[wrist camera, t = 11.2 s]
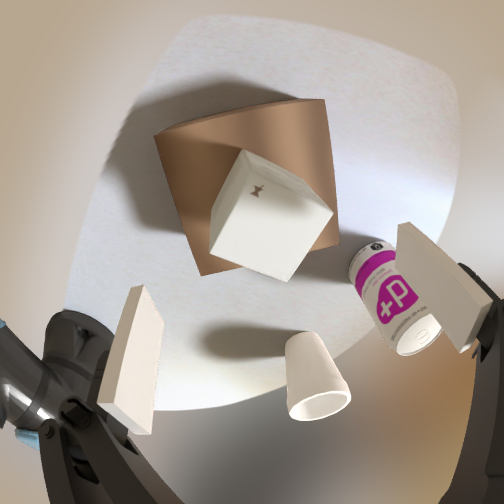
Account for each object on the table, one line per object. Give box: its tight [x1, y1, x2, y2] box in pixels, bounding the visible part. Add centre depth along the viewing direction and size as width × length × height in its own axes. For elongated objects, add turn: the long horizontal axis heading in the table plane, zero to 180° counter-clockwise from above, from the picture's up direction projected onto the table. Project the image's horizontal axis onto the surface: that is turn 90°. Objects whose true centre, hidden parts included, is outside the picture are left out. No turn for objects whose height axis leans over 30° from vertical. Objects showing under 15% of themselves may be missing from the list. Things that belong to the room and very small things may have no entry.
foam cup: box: [285, 331, 351, 421], centre depth 41 cm, size 10×9×13 cm
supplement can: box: [349, 241, 443, 356], centre depth 32 cm, size 8×8×15 cm
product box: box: [209, 149, 333, 282], centre depth 20 cm, size 6×6×7 cm
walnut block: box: [154, 98, 339, 276], centre depth 27 cm, size 14×14×8 cm
